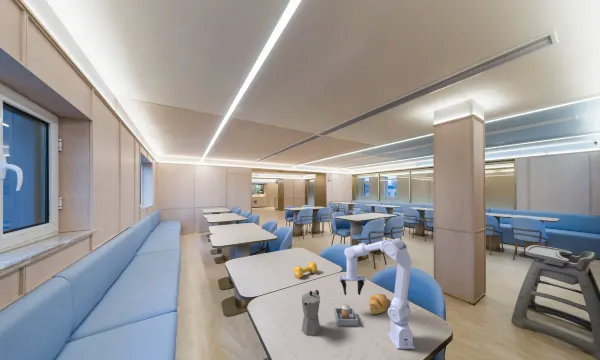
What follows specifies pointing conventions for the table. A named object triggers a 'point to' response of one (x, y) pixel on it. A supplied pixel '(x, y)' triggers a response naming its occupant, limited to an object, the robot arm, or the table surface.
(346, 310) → the shaker
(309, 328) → the coffeepot
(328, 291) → the table surface
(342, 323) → the bin
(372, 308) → the croissant
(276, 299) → the table surface
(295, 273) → the dumbbell
